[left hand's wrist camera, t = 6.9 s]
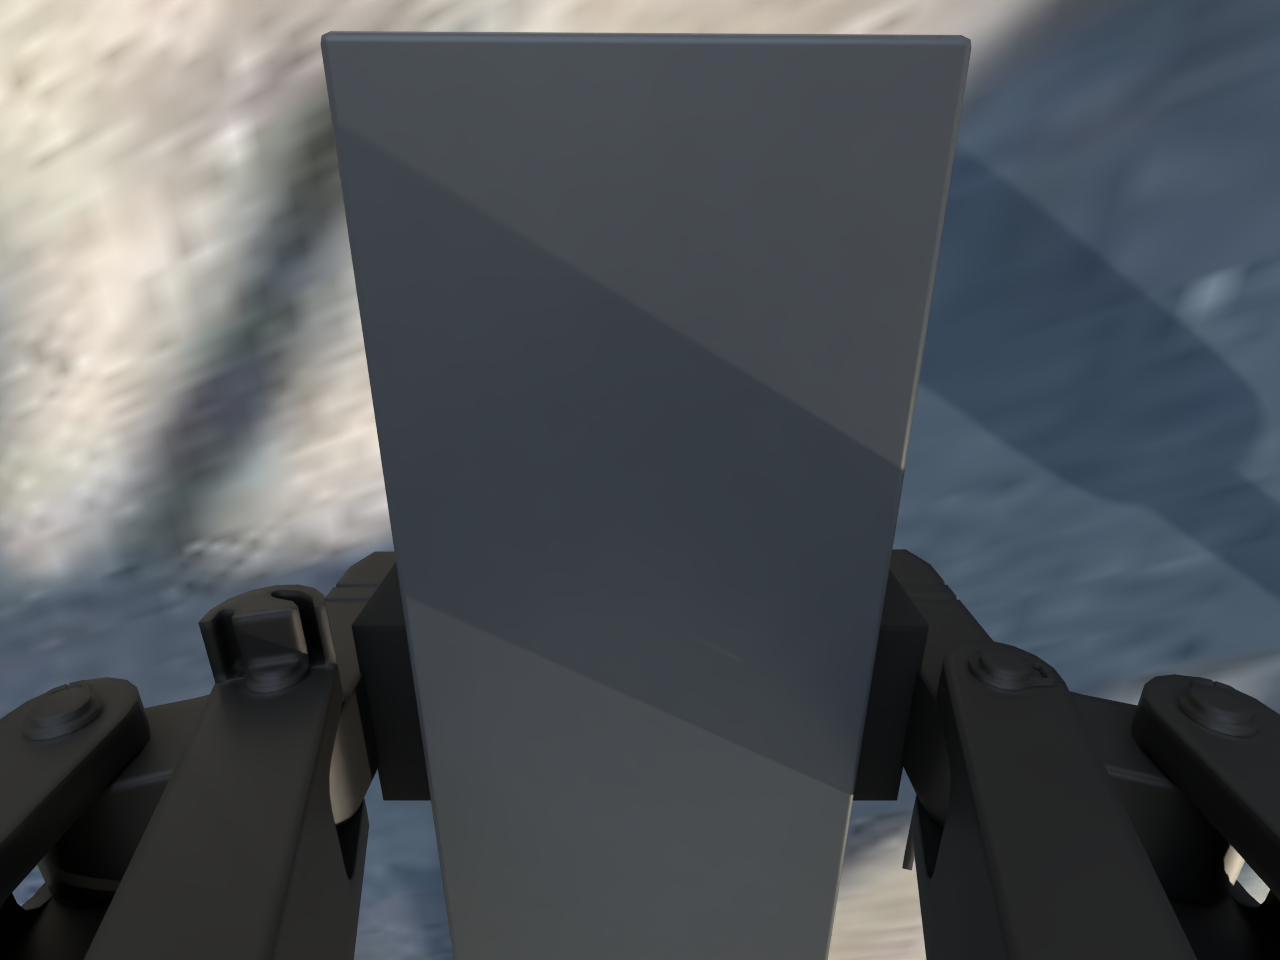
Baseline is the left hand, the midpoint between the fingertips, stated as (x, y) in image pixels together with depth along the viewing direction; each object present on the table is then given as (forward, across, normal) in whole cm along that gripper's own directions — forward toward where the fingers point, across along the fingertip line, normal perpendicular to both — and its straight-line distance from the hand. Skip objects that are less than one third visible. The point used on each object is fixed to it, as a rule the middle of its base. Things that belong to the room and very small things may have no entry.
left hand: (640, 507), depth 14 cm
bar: (+1, 0, -25) cm, 25 cm away
